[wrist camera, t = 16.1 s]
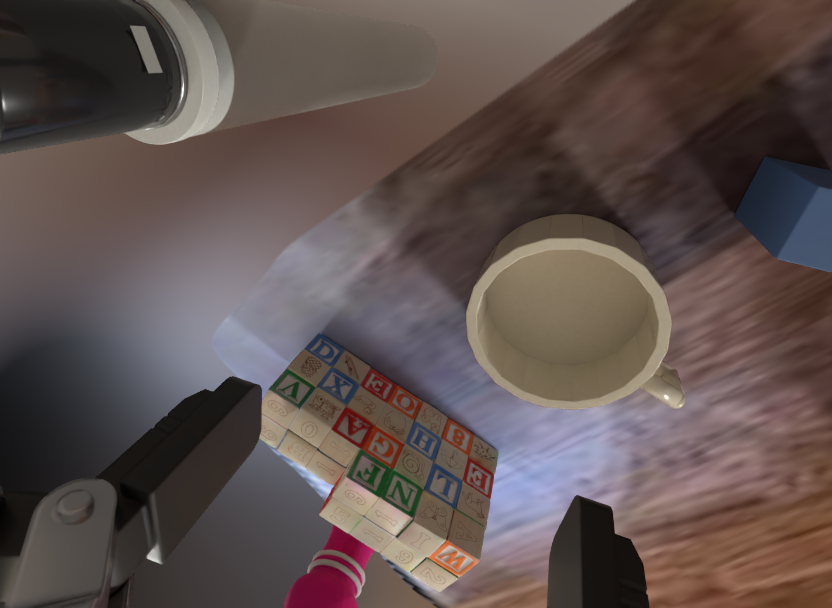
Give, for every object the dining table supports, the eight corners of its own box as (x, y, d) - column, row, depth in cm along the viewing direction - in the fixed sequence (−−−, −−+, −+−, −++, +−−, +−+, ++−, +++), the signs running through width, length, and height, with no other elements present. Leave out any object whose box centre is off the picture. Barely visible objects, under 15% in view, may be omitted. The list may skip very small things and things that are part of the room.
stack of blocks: (297, 371, 50) (223, 455, 40) (319, 330, 47) (246, 410, 36) (467, 483, 51) (439, 596, 40) (501, 451, 47) (480, 565, 37)
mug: (448, 309, 42) (432, 341, 37) (546, 177, 35) (541, 196, 30) (613, 419, 42) (618, 464, 37) (743, 310, 35) (769, 350, 30)
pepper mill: (346, 442, 53) (238, 626, 36) (407, 441, 50) (320, 640, 33) (366, 491, 56) (274, 684, 39) (424, 493, 53) (353, 701, 36)
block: (733, 215, 32) (775, 259, 26) (764, 156, 30) (819, 185, 24) (797, 231, 32) (857, 279, 25) (833, 170, 30) (910, 205, 23)
